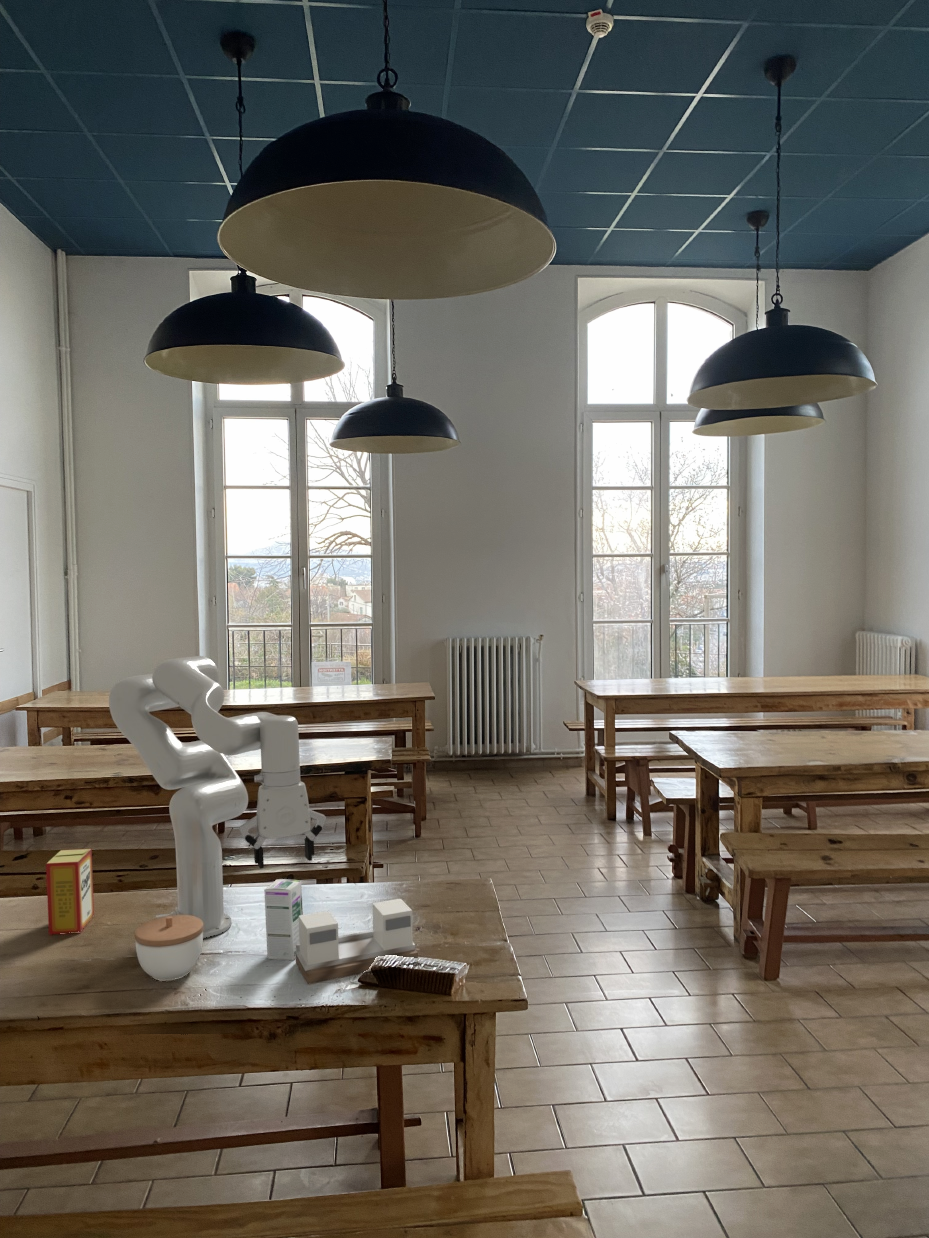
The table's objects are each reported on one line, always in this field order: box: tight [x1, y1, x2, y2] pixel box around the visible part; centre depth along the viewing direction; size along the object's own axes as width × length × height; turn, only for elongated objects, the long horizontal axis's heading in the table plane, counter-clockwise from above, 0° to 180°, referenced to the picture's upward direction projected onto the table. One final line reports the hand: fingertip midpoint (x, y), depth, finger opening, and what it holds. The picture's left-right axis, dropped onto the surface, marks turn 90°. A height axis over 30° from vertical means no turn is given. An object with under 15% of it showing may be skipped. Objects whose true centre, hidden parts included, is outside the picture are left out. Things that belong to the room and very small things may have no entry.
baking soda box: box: [45, 848, 95, 936], centre depth 195 cm, size 10×6×16 cm
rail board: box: [295, 929, 419, 985], centre depth 174 cm, size 22×10×4 cm, turn 113°
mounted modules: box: [299, 898, 414, 965], centre depth 173 cm, size 21×7×7 cm, turn 113°
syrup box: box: [263, 878, 304, 962], centre depth 178 cm, size 6×6×14 cm
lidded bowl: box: [134, 915, 204, 980], centre depth 171 cm, size 13×13×11 cm
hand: (284, 862), depth 177 cm, fingers open, 9 cm apart
